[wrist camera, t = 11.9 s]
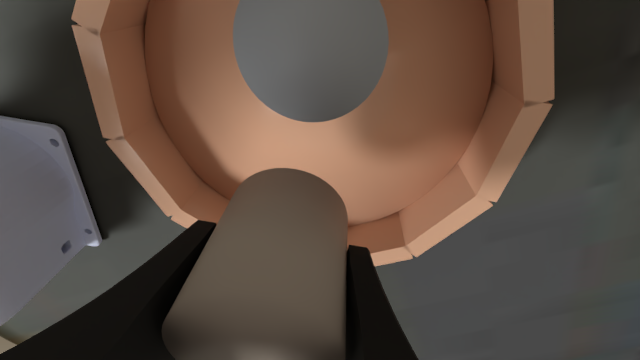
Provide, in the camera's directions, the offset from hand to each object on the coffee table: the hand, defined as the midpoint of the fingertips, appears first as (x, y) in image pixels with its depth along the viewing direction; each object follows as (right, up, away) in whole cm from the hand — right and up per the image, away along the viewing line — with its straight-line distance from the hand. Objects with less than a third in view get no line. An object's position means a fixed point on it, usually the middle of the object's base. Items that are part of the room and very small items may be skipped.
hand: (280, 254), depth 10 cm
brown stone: (0, +1, +1) cm, 2 cm away
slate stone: (+1, +9, +2) cm, 9 cm away
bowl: (+1, +7, +5) cm, 9 cm away
